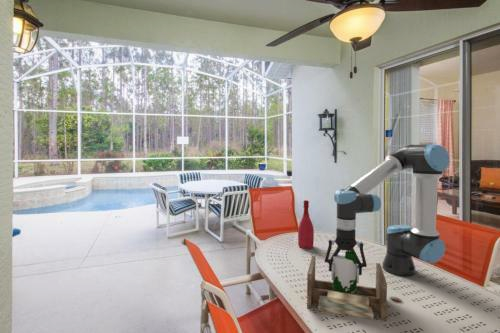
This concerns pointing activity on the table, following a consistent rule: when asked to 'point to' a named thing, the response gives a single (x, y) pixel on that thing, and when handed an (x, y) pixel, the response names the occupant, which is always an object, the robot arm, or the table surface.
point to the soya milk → (345, 272)
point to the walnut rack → (374, 302)
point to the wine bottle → (305, 229)
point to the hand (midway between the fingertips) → (344, 280)
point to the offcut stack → (345, 304)
